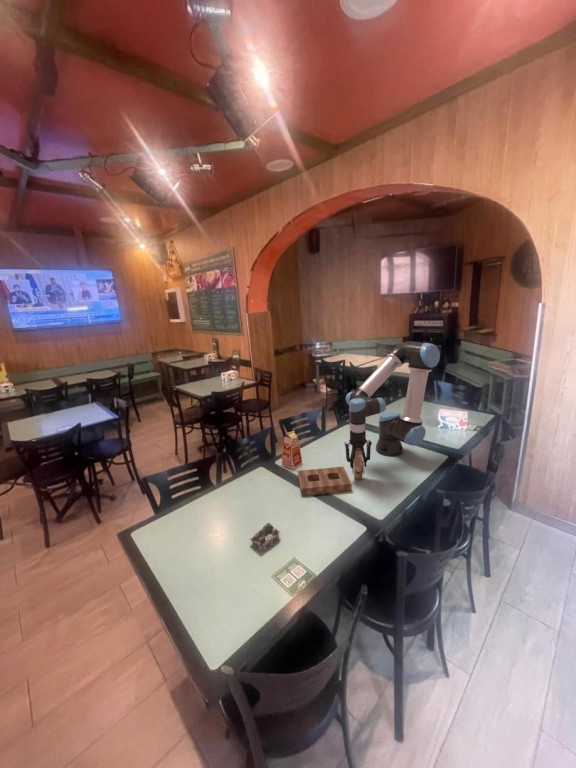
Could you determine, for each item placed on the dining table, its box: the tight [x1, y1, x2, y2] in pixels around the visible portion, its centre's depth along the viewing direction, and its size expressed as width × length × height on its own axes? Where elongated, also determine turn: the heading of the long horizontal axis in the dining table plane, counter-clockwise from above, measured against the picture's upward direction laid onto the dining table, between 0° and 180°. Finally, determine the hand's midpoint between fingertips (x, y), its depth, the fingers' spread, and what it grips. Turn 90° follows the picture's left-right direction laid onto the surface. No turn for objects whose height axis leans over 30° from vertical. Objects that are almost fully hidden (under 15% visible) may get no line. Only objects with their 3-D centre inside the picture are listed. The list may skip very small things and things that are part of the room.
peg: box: [353, 448, 363, 481], centre depth 156 cm, size 4×4×16 cm
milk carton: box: [281, 430, 303, 470], centre depth 174 cm, size 9×9×20 cm
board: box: [297, 466, 353, 497], centre depth 155 cm, size 24×16×4 cm, turn 94°
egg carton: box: [249, 522, 281, 552], centre depth 121 cm, size 11×8×4 cm
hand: (358, 472), depth 157 cm, fingers closed on peg, 4 cm apart
